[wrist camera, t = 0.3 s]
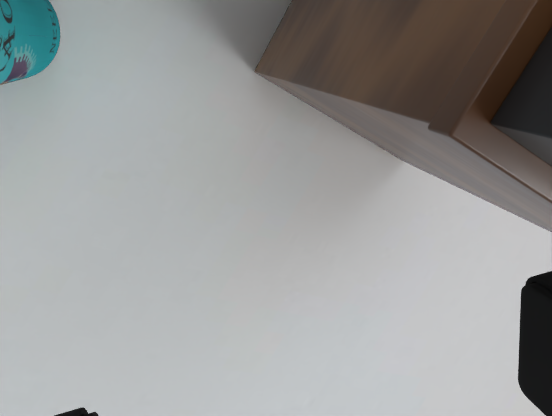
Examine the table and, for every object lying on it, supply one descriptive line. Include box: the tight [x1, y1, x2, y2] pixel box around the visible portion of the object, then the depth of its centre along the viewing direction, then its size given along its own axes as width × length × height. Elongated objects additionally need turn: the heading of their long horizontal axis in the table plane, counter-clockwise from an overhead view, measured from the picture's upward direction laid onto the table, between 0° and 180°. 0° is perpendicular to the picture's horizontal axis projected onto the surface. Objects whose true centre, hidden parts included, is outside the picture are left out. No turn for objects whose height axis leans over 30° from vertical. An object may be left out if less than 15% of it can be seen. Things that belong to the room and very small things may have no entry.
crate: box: [254, 0, 552, 232], centre depth 23 cm, size 14×14×24 cm
